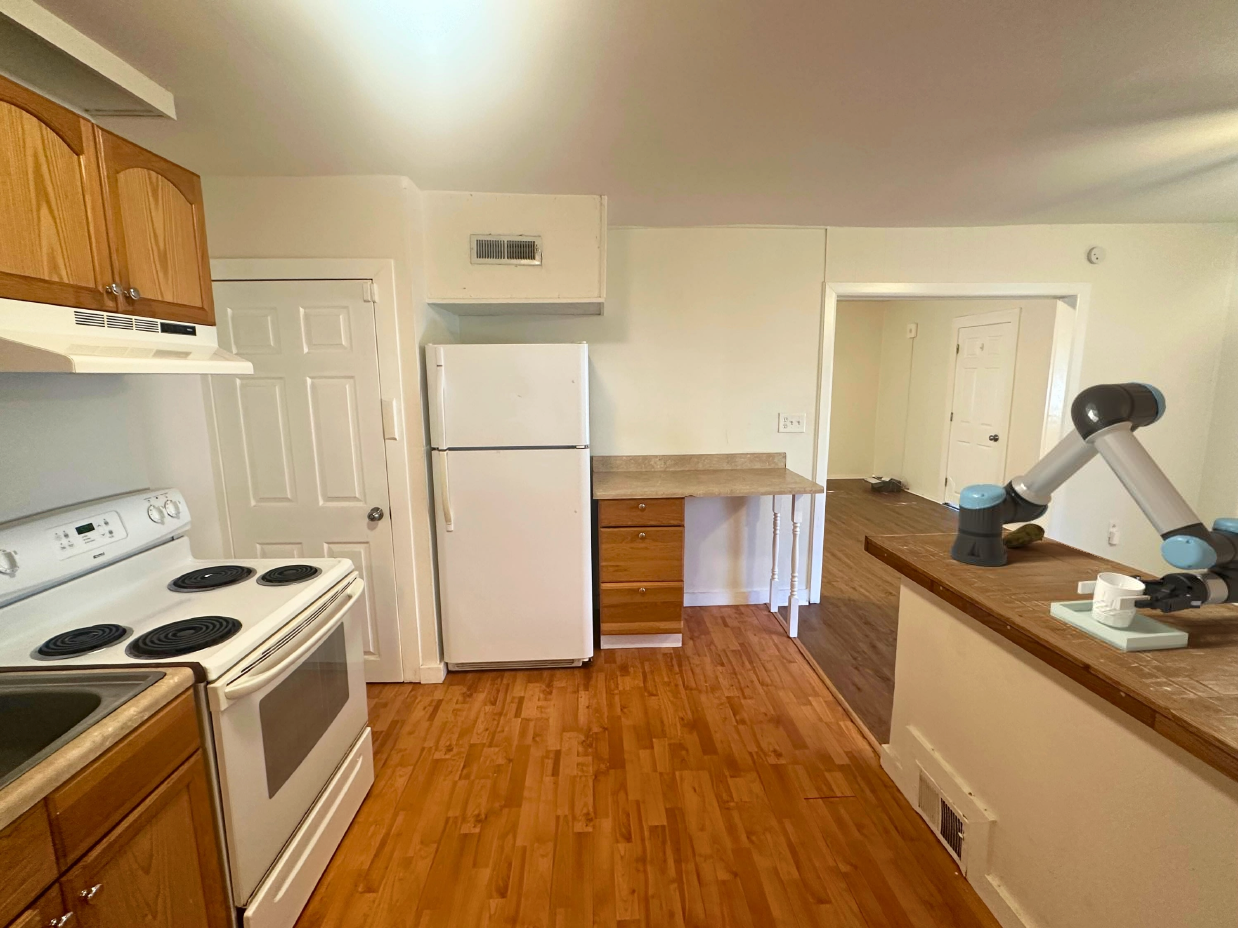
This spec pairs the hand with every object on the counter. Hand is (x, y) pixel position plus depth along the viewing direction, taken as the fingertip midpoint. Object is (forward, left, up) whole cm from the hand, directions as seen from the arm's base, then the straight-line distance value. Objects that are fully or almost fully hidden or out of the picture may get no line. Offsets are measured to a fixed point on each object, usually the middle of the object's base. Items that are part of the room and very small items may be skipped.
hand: (1098, 595), depth 118 cm
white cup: (-1, +5, -7) cm, 8 cm away
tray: (0, +5, -9) cm, 10 cm away
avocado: (-56, +32, -9) cm, 65 cm away
